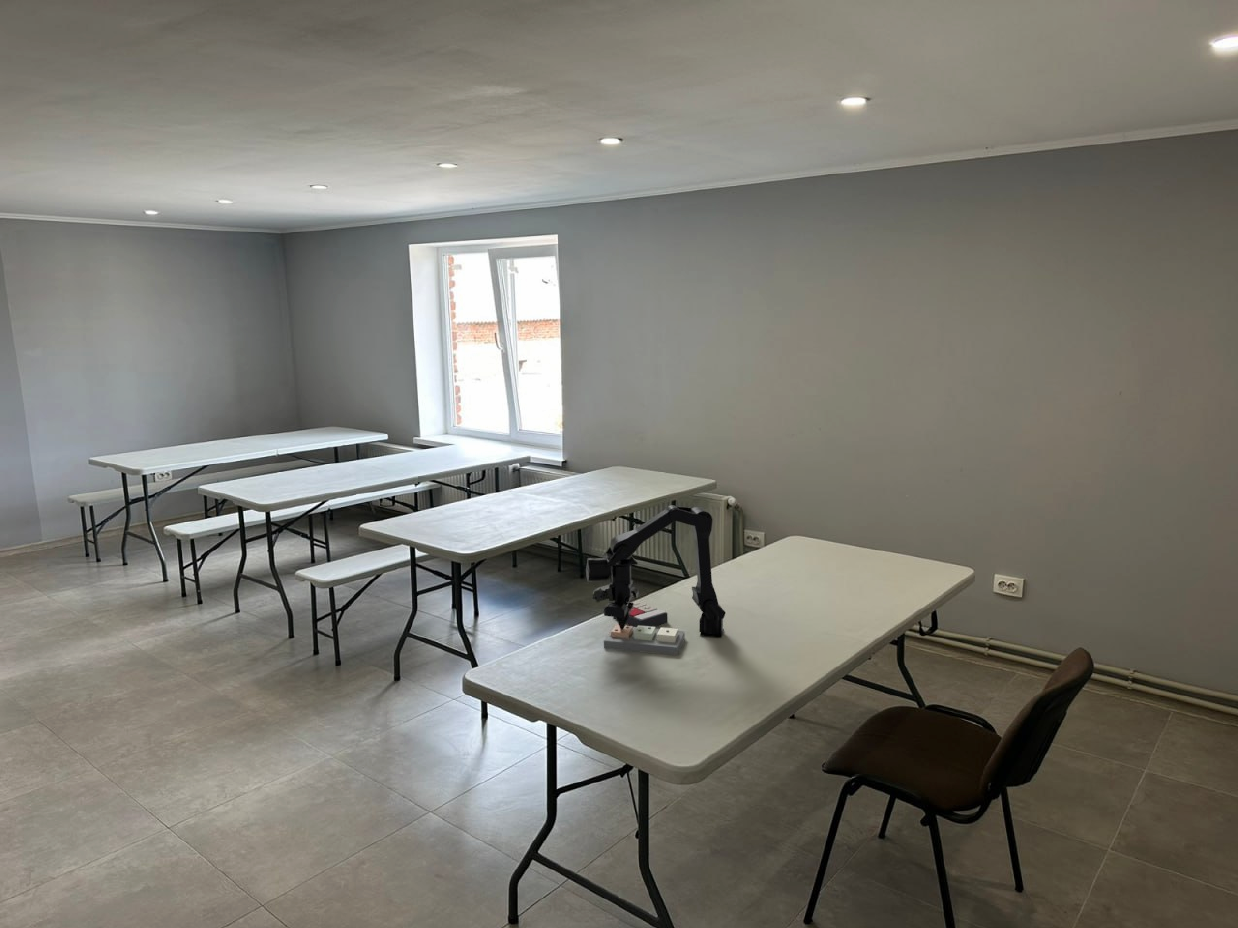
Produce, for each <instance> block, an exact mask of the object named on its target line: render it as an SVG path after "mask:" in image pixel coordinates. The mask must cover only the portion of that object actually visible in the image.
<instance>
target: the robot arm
mask: <svg viewBox="0 0 1238 928" xmlns="http://www.w3.org/2000/svg"><path fill="white" fill-rule="evenodd" d="M674 522H679V523H682V524H685V525H689V527H690V530H691V533H692V535H693V537H694V553H695V562H696V563H695V565H696V578H697V579H696V580H697V582H696V585H695V586H691V591H692V597H691V599H692V600H693V602H694V603H695V604H696V606H697V607H698V608H699V610H700V611H701V612H702V613H701V616H700V618H699V633H700V634H699V637H706V638H707V637H708V638H717V639H718V638H719V639H722V637H723V634H724V631H725V629H724V618H725V615H726V611H725V610H724V609H723V607H721V605H720V604H719V600H718V597H717V593H716V591H715V588H714V585H713V582H712V581H713V579H712V566H711V565H712V563H711V552H710V551H711V549H710V536H711V534H712V529H713V517H712V515H711V513H709V512H708V511H707V510H706V509H705V508H704V507H702V506H694V507H688V506H677V505H672V504H671V505H668V506H667V507H665V509H663V510H662V511H661V512H659V513H657V514H656V515H654V516H653V517H651V518H650V519H649V520H647V521H645V522H644V523H642V524H640V526H639V525H638V527H636V528H634V529H633V530H629V531H626V532H623V533H620V534H619V535H616V536H614V537H612V539H611V540H610V542H609V543H610V544H609V547H608V549H607V550H606V551H605V553H604V554H603V557H597V558H596V557H595V558H594V557H587V561H586V562H587V563H586V566H585V575H586V580H587V582H601V581H605V582H606V581H608V579H610V577H611V582H610V583H609V584H606V585H603V586H599V587H596V588H595V589H594V590H593V592H592V599H593V600H595V603H600V602H602V601H605V600H608V601H609V602H608V603H607V604H606V606H605V607H604V608H603V616H605V617H612V618H613V617H617V619H616V620H617V625H619V627H620V629H624V627H625V626H627V624H626V622H627V620H628V617H629V615H630V612H631V610H632V607H633V605H634V602H630V601H631V600H632V598H633V597H634V599H637V598H638V597H639V593H640V592H639V591H640V590H639V589H638V588H637V587H635V586H632V585H633V584H634V583H633V582H634V579H632V566H637V565H638V563H639V562H638V561H637V559H635V558H634V556H633V554H634V553H635V552H637V550H638V549H639V548H640V546H641V545H642V544H643V543H644V542H645V541H646V540H648V539H650V538H652V537H653V536H655V535H657V533H660V532H661V531H663V530H664V529H665V528H667V527H668V526H670V525H671V524H672V523H674Z"/></svg>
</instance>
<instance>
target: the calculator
mask: <svg viewBox="0 0 1238 928" xmlns="http://www.w3.org/2000/svg"><path fill="white" fill-rule="evenodd" d="M633 603H634V605H633V607H632V610H631V612H630V615H629V617H628V620H627V622H626V625H627V626H633V627H637V626H638V625H639V626H650V627H655V628H656V627H659V626H660V627H661V626H663V625H665V624H668V621H669V619H668V612H666V611H665V610H662V609H659V608H657V607H656V606H652V605H649V604H647V603H644V602H641V601H634V602H633ZM612 618H613V619H615V620H617V617H612Z"/></svg>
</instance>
